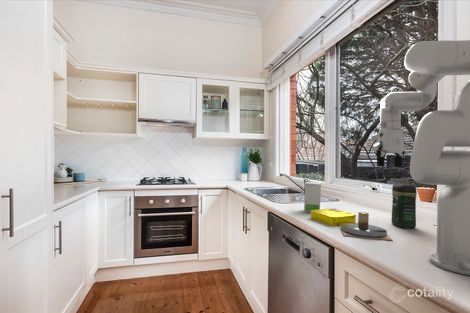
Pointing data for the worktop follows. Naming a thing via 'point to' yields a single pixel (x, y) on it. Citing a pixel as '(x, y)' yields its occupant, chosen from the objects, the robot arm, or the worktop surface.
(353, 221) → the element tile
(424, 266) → the worktop surface
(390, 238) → the mat
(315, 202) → the skincare box
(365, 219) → the lid
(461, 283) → the worktop surface
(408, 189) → the coffee jar
